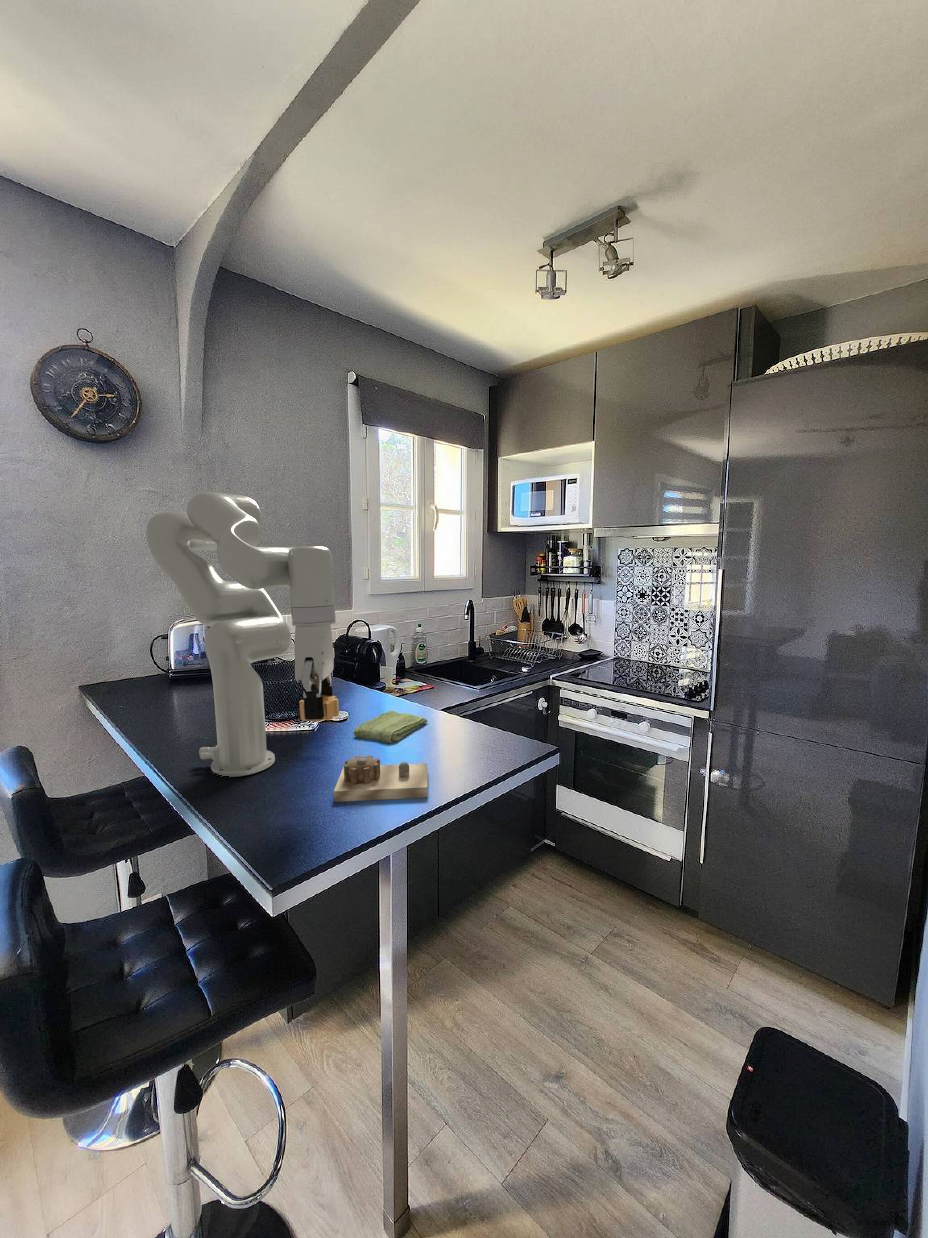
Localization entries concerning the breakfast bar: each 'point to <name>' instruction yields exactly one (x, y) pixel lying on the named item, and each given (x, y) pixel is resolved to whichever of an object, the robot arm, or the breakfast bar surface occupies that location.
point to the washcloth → (389, 726)
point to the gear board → (380, 780)
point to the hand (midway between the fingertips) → (319, 712)
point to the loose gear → (329, 708)
